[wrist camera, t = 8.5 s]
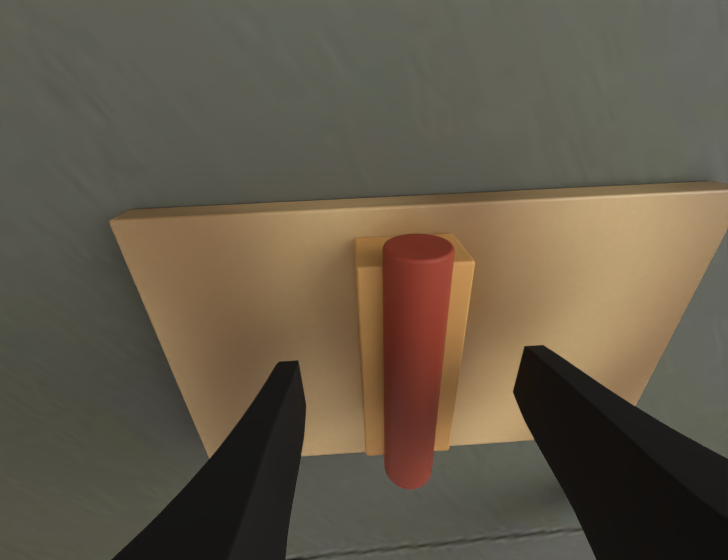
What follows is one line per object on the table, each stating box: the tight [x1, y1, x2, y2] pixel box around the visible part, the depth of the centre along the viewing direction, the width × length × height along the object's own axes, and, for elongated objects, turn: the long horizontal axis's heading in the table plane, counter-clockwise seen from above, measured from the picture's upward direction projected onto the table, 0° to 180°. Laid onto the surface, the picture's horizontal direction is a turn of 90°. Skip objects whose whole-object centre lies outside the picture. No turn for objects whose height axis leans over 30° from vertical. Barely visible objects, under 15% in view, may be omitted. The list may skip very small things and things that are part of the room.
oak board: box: [109, 181, 728, 459], centre depth 14 cm, size 20×12×1 cm, turn 92°
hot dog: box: [354, 233, 475, 489], centre depth 11 cm, size 3×9×3 cm, turn 2°
